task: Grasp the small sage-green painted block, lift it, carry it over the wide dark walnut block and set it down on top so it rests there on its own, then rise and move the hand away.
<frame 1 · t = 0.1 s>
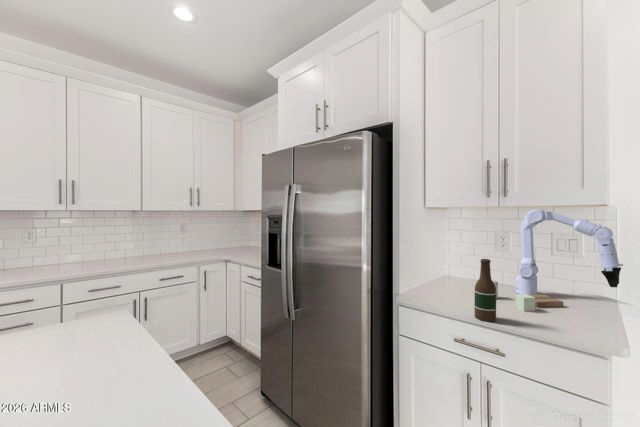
hand: (614, 285, 131), 11 cm above the counter, tool pointing down, fingers open, 7 cm apart
sage block: (525, 309, 132), on the counter
medicine box: (487, 298, 150), on the counter
walnut block: (540, 304, 140), on the counter
beer bottle: (485, 319, 121), on the counter
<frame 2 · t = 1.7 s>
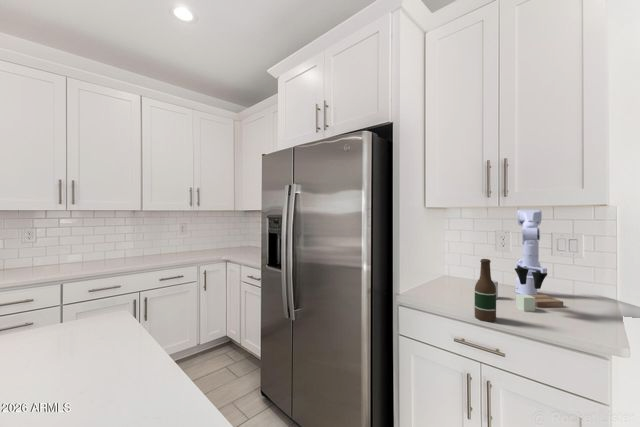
hand: (530, 286, 131), 10 cm above the counter, tool pointing down, fingers open, 7 cm apart
nothing on the counter moved.
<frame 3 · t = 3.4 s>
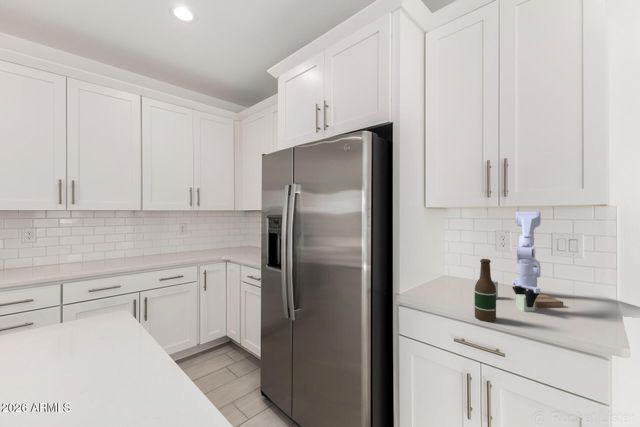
hand: (525, 305, 132), 2 cm above the counter, tool pointing down, fingers closed on sage block, 5 cm apart
sage block: (525, 309, 132), on the counter, touching gripper
everything else where it was.
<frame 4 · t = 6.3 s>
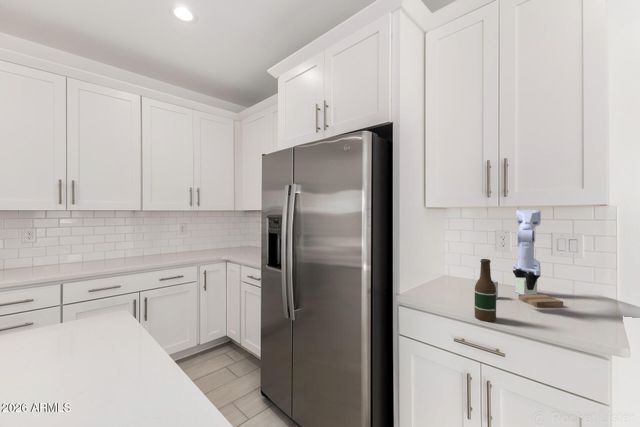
hand: (525, 288, 132), 9 cm above the counter, tool pointing down, fingers closed on sage block, 5 cm apart
sage block: (525, 292, 132), point 7 cm above the counter, touching gripper
everything else where it was.
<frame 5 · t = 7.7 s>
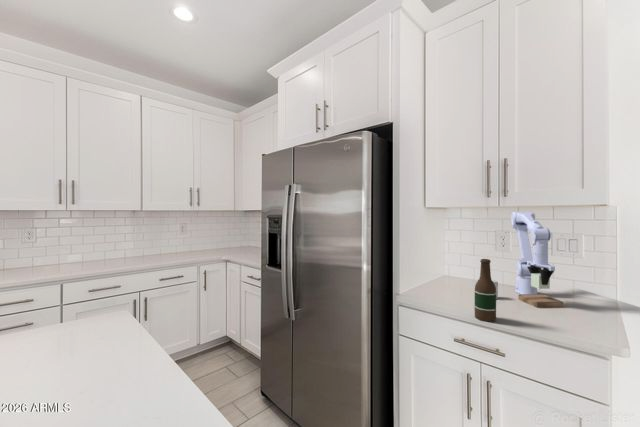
hand: (540, 283, 140), 9 cm above the counter, tool pointing down, fingers closed on sage block, 5 cm apart
sage block: (540, 287, 140), point 7 cm above the counter, touching gripper
everything else where it was.
when the fingers open (6 cm above the counter, at t = 9.0 s): sage block drops 2 cm, resting on walnut block.
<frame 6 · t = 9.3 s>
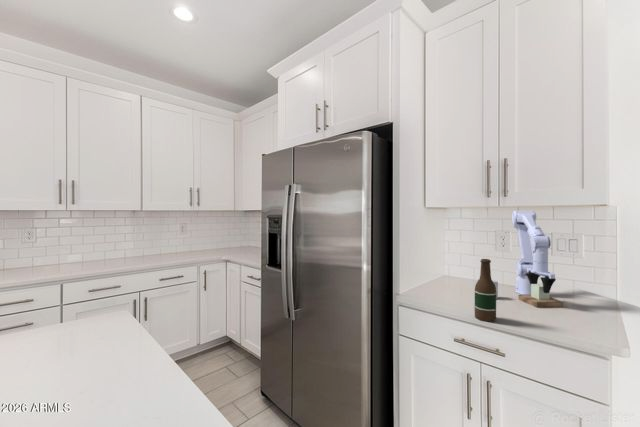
hand: (540, 290, 140), 6 cm above the counter, tool pointing down, fingers open, 7 cm apart
sage block: (540, 298, 140), point 2 cm above the counter, touching walnut block
walnut block: (540, 304, 140), on the counter, touching sage block
everything else where it was.
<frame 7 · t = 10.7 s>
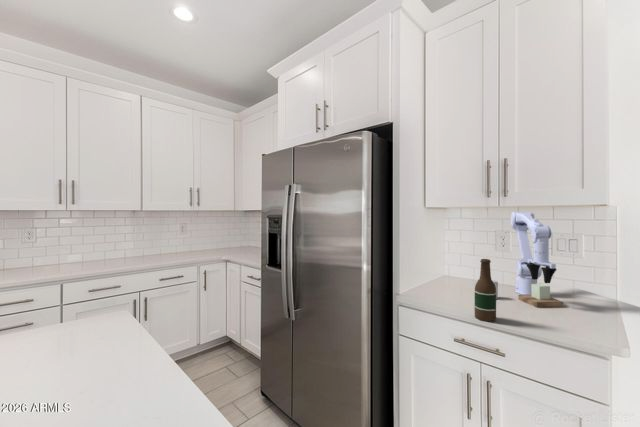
hand: (540, 281, 140), 10 cm above the counter, tool pointing down, fingers open, 7 cm apart
sage block: (540, 297, 140), point 3 cm above the counter
walnut block: (540, 304, 140), on the counter
everything else where it was.
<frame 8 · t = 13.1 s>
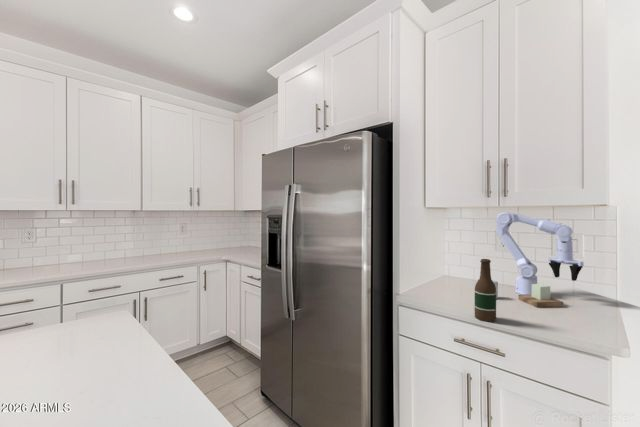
hand: (565, 278, 144), 10 cm above the counter, tool pointing down, fingers open, 7 cm apart
sage block: (540, 298, 140), point 2 cm above the counter, touching walnut block
walnut block: (540, 304, 140), on the counter, touching sage block
everything else where it was.
at the end: sage block inside the target area on the walnut block (0.3 cm from its centre), point 3.0 cm above the walnut block's base; sage block tilted 0°; the gripper is holding nothing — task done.
